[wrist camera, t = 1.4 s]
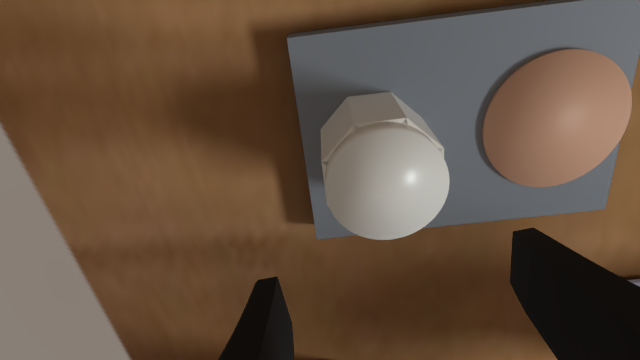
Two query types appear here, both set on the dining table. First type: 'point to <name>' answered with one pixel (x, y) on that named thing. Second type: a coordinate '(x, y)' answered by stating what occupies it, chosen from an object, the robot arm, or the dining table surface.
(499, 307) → the dining table surface
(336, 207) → the cap
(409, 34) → the post board
